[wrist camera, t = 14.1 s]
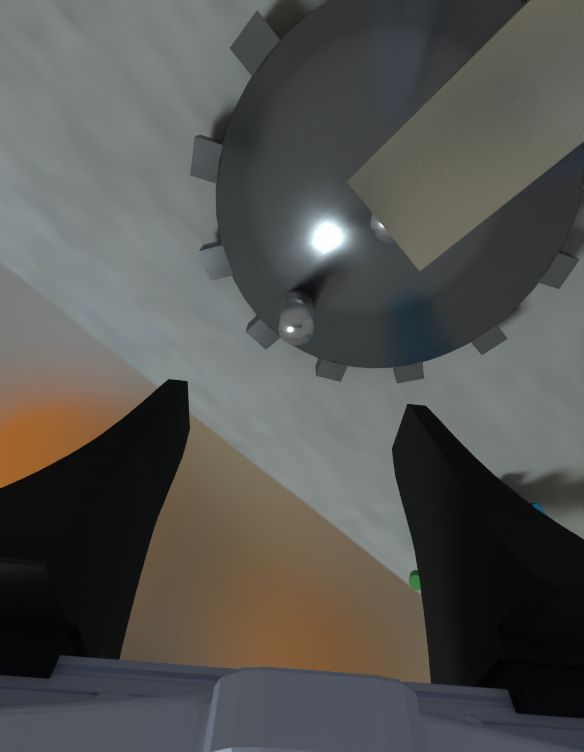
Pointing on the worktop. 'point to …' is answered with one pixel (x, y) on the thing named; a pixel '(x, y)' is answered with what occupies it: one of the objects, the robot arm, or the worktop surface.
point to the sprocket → (399, 175)
